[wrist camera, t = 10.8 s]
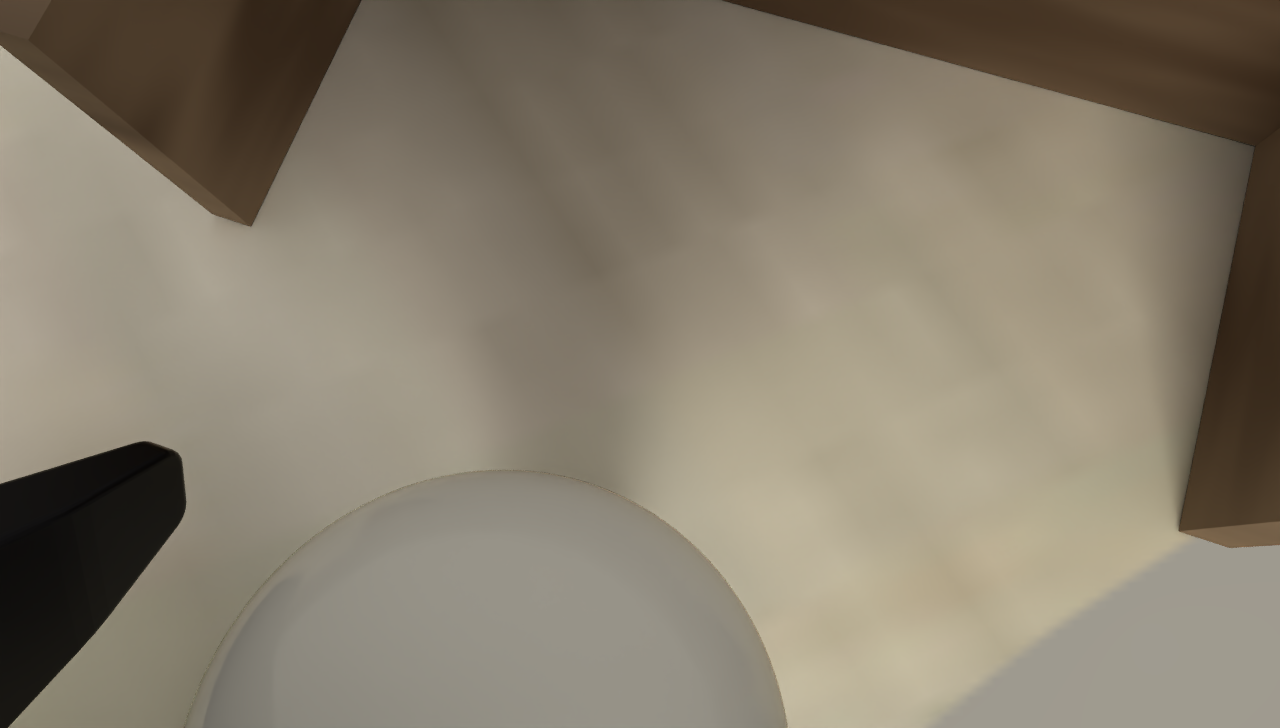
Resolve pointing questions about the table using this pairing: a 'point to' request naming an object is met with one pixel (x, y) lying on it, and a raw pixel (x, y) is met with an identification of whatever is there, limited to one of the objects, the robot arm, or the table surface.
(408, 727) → the lightbulb
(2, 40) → the open box
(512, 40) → the table surface
